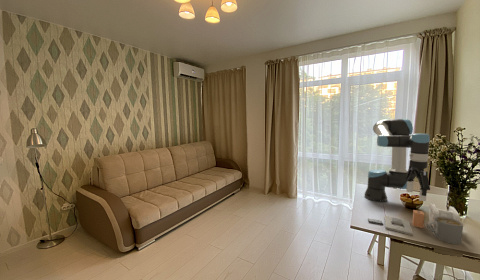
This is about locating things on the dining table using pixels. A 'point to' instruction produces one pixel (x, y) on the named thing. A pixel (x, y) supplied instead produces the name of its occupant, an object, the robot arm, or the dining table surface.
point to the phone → (375, 221)
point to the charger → (418, 219)
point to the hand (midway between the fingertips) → (415, 196)
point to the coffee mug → (447, 229)
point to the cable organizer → (442, 213)
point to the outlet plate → (400, 222)
